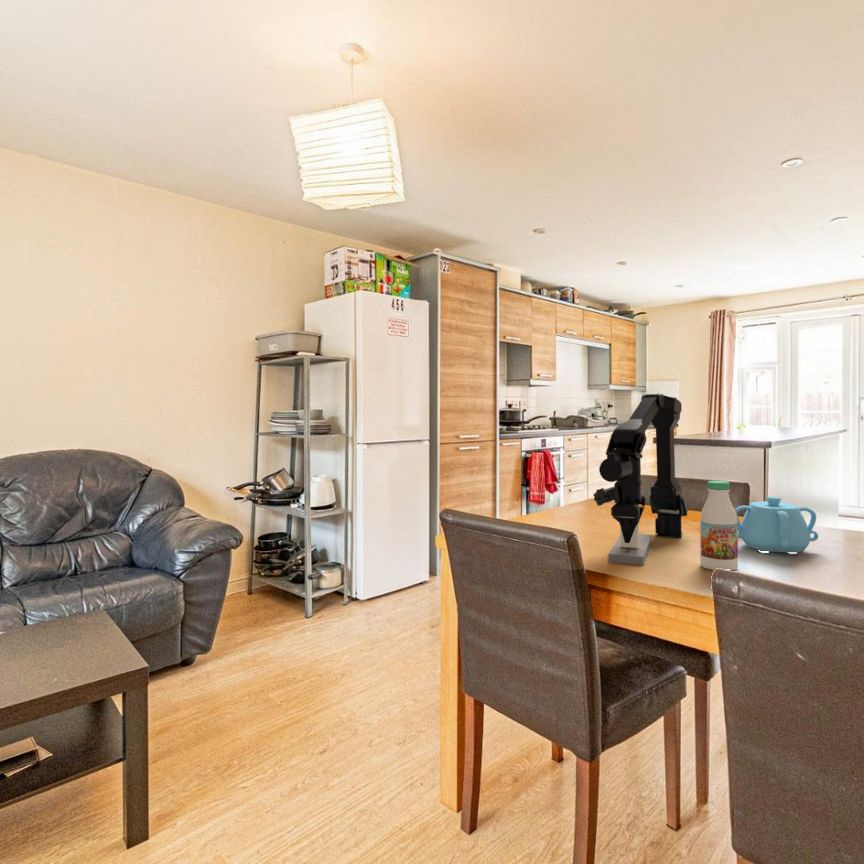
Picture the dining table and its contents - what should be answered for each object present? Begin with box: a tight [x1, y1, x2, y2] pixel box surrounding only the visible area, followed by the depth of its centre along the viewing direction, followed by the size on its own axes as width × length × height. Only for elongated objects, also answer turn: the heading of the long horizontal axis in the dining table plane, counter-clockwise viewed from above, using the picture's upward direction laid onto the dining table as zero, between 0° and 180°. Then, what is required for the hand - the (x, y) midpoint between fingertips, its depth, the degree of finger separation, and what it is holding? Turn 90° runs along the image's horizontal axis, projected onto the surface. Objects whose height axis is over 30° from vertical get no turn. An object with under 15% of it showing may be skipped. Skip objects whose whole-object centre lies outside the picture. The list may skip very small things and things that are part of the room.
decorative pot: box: [734, 496, 819, 553], centre depth 142 cm, size 16×16×14 cm
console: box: [607, 533, 653, 566], centre depth 144 cm, size 8×24×2 cm, turn 154°
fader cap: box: [619, 525, 640, 548], centre depth 141 cm, size 4×3×5 cm
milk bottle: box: [699, 480, 739, 571], centre depth 128 cm, size 8×8×20 cm
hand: (629, 538), depth 141 cm, fingers open, 9 cm apart
